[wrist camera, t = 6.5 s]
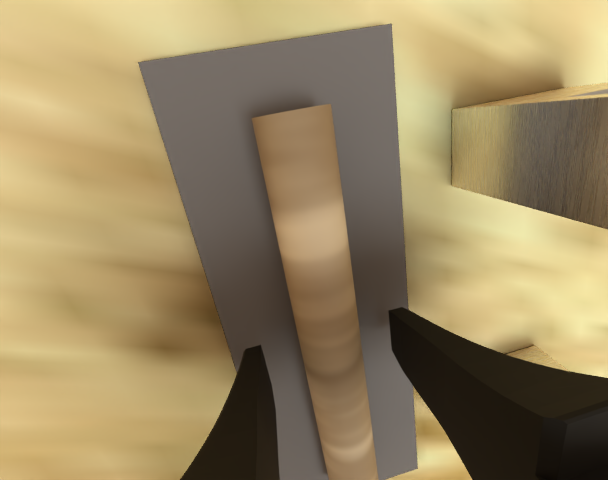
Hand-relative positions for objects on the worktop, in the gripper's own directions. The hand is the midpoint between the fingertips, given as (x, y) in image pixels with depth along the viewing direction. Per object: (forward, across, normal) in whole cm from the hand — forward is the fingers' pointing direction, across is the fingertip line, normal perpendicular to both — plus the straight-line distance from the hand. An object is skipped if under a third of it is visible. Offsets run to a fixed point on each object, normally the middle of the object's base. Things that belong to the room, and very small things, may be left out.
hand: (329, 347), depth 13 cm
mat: (+2, 0, 0) cm, 2 cm away
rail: (0, 0, 0) cm, 0 cm away
